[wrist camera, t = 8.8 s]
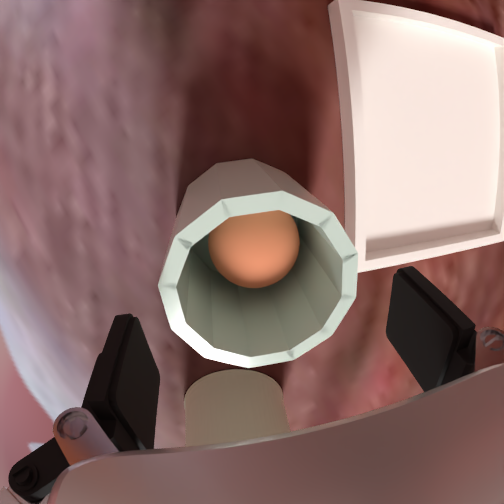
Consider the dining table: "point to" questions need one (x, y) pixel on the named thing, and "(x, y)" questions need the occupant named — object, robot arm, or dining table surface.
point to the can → (233, 408)
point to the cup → (255, 299)
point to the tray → (418, 132)
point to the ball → (255, 248)
